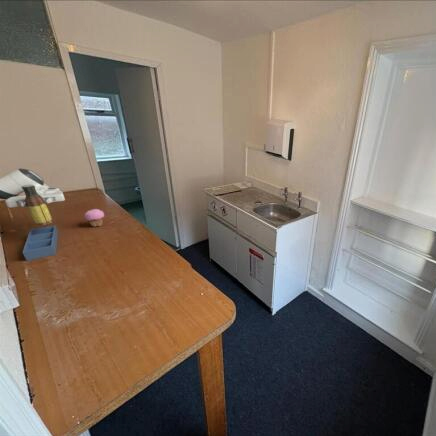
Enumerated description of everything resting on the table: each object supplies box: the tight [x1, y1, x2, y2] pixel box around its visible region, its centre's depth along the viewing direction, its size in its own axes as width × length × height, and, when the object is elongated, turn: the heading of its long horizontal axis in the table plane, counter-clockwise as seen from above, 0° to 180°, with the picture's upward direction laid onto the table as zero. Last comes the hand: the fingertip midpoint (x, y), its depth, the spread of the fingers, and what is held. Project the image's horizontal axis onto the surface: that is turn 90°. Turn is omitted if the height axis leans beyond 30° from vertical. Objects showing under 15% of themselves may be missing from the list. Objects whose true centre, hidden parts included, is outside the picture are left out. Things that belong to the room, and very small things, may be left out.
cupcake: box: [83, 208, 105, 228], centre depth 134 cm, size 9×9×10 cm
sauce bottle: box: [22, 185, 54, 226], centre depth 112 cm, size 6×6×20 cm
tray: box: [22, 225, 59, 262], centre depth 113 cm, size 9×27×4 cm, turn 41°
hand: (35, 203), depth 111 cm, fingers closed on sauce bottle, 6 cm apart
